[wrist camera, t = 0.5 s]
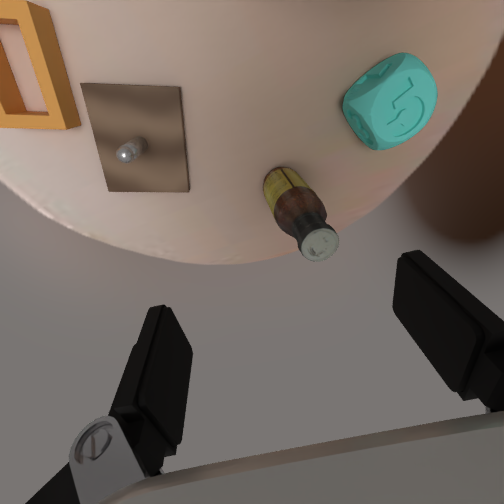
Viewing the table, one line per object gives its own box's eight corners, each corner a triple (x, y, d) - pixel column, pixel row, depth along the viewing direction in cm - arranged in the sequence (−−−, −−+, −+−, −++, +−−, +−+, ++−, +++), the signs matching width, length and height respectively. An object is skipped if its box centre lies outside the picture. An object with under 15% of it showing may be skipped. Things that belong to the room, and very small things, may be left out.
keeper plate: (85, 82, 34) (45, 83, 27) (180, 86, 35) (167, 88, 28) (112, 188, 42) (86, 211, 34) (189, 189, 43) (181, 212, 35)
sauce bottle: (264, 204, 45) (285, 276, 28) (259, 168, 42) (281, 225, 25) (302, 198, 45) (345, 267, 28) (301, 161, 42) (349, 214, 25)
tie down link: (-28, 4, 30) (-61, -6, 26) (48, 9, 30) (26, 0, 27) (19, 123, 36) (-2, 127, 33) (81, 125, 37) (66, 129, 33)
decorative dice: (385, 54, 35) (423, 47, 28) (409, 105, 39) (447, 111, 32) (334, 100, 37) (357, 104, 31) (361, 144, 41) (387, 157, 34)
